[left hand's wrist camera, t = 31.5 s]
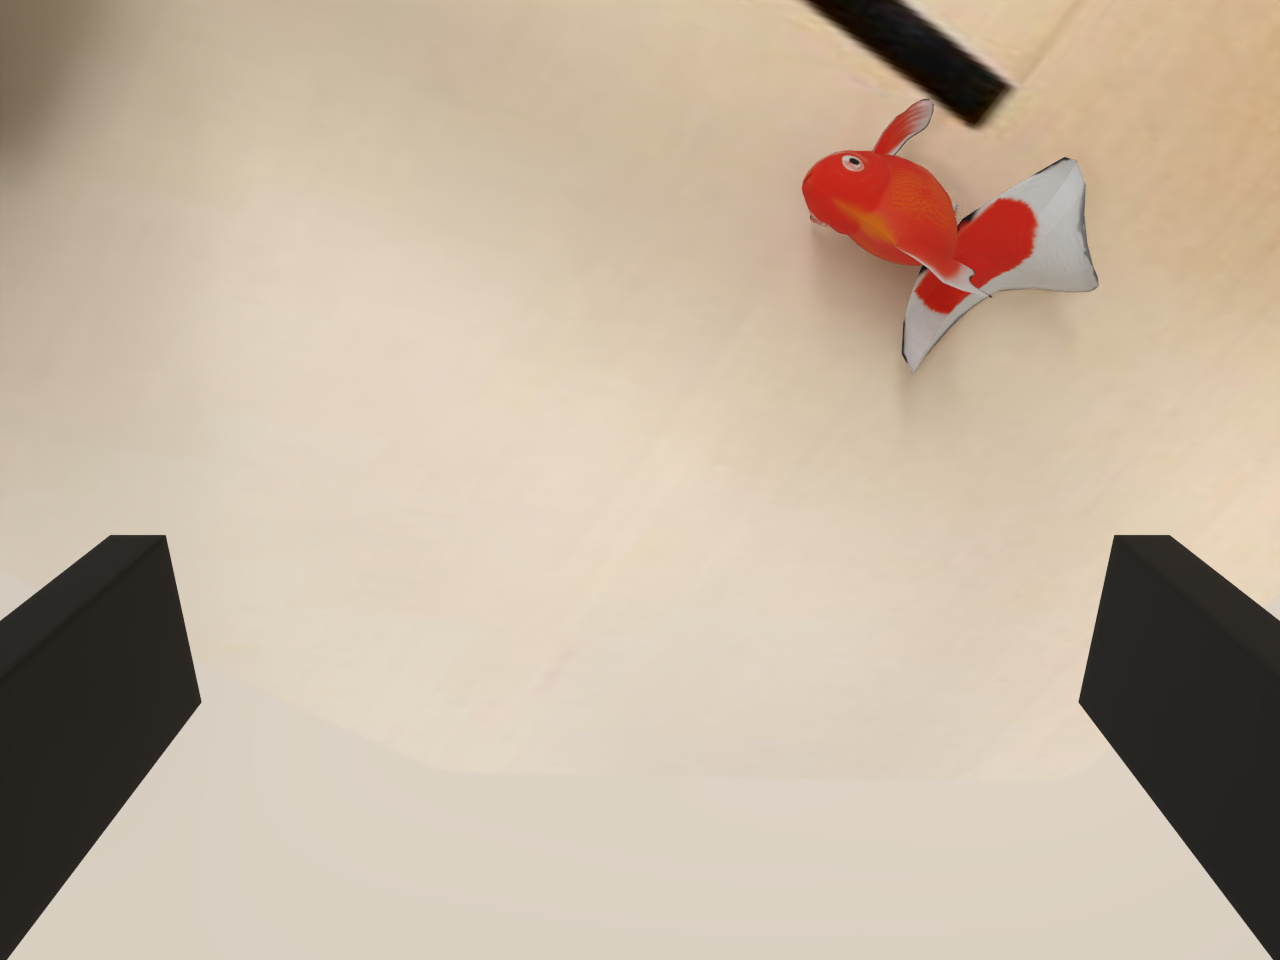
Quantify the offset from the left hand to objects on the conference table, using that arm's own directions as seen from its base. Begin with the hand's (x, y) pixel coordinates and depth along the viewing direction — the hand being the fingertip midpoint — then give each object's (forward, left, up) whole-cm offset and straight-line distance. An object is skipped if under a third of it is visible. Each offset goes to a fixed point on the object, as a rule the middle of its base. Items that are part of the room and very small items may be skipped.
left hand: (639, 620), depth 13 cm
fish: (+14, -4, -36) cm, 39 cm away
